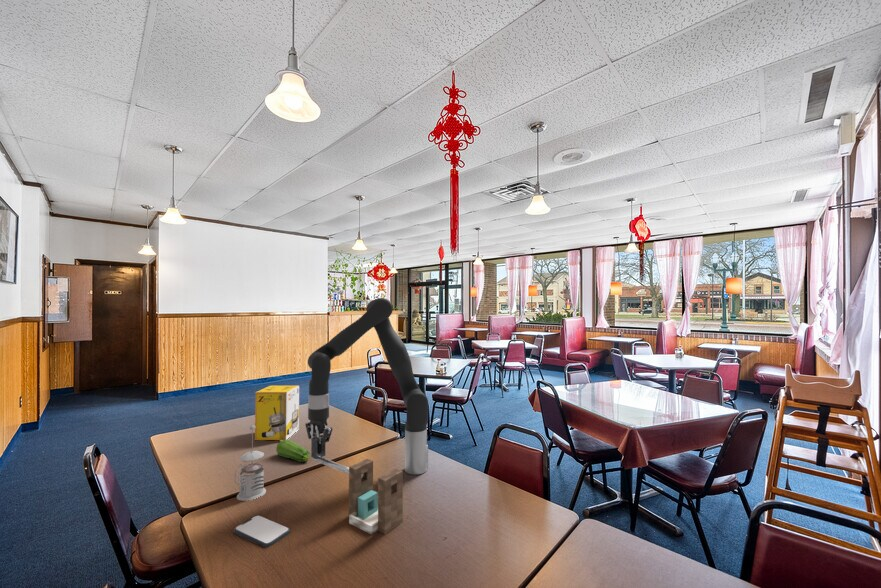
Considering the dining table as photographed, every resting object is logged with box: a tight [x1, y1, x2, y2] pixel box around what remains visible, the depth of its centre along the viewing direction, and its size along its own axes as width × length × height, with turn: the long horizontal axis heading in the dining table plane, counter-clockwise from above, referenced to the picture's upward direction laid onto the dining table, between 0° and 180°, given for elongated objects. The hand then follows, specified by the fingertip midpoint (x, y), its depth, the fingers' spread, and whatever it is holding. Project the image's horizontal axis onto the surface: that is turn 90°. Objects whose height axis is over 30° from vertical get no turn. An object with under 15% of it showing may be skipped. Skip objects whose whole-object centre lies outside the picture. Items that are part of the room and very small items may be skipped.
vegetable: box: [275, 439, 311, 463], centre depth 165 cm, size 7×7×20 cm
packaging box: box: [254, 385, 300, 441], centre depth 195 cm, size 16×16×25 cm
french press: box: [234, 424, 267, 502], centre depth 134 cm, size 10×12×25 cm
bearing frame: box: [348, 458, 404, 536], centre depth 118 cm, size 16×13×16 cm
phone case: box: [233, 514, 291, 548], centre depth 111 cm, size 9×2×16 cm
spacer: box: [358, 489, 378, 519], centre depth 120 cm, size 3×6×6 cm, turn 144°
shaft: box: [310, 436, 365, 480], centre depth 129 cm, size 26×4×9 cm, turn 54°
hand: (318, 452), depth 136 cm, fingers closed on shaft, 3 cm apart
